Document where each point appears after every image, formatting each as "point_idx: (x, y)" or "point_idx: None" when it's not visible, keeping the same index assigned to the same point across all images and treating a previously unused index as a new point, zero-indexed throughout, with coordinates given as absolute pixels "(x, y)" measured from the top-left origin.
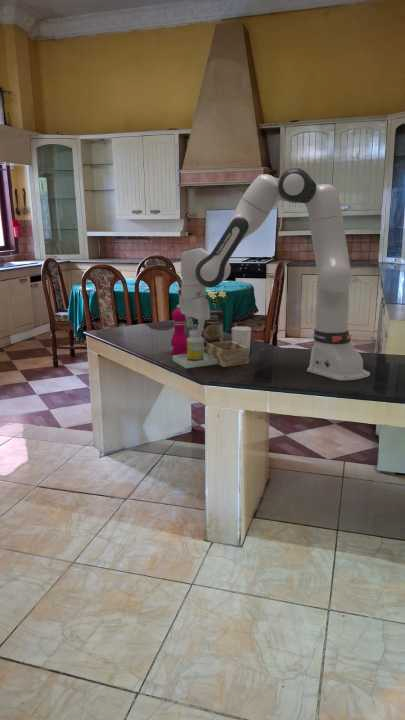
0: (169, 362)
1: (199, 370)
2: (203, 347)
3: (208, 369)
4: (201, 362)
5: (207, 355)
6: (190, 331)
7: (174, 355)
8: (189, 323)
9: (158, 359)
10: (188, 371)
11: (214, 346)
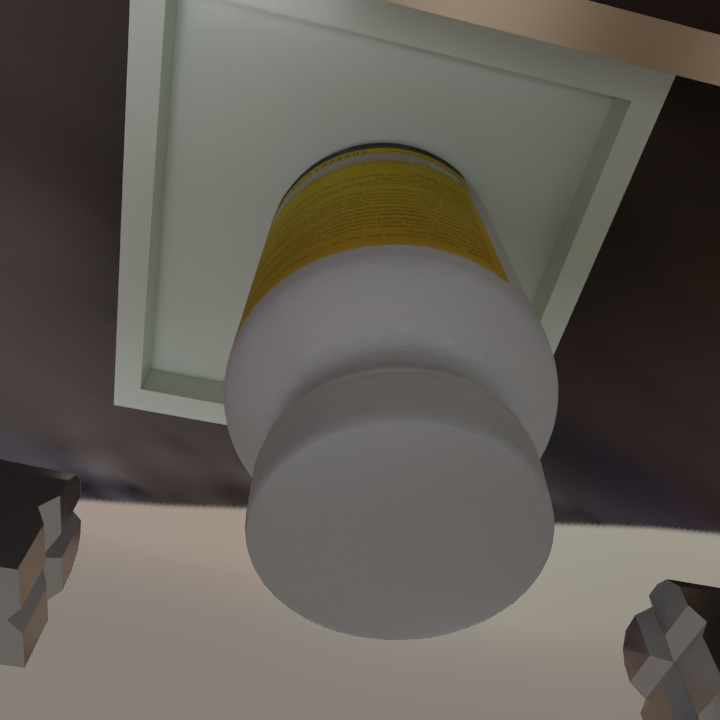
0: (187, 429)
1: (652, 385)
2: (510, 265)
3: (707, 300)
4: (567, 303)
5: (382, 38)
6: (386, 633)
7: (123, 388)
8: (32, 636)
9: (11, 444)
10: (589, 469)
11: (589, 28)
